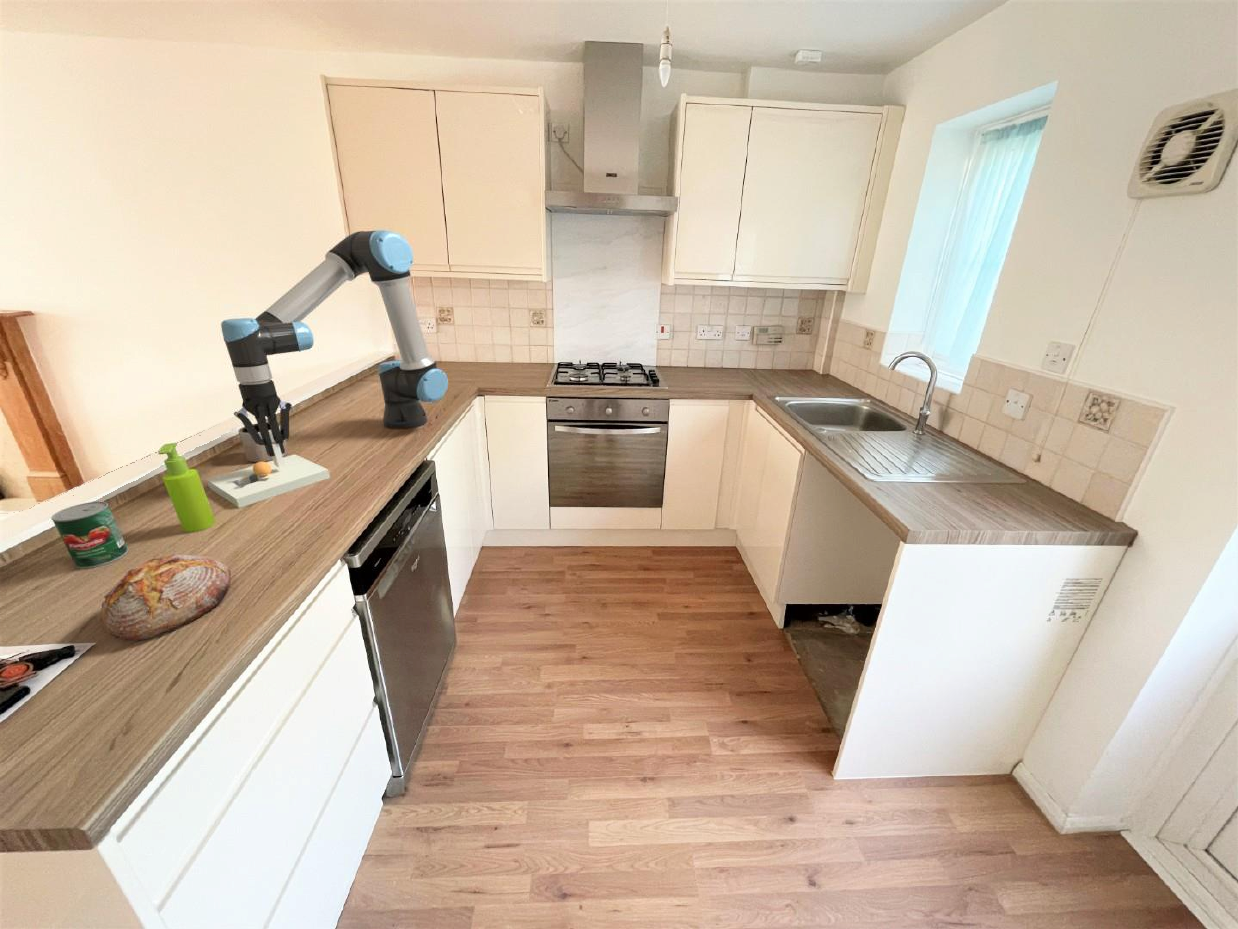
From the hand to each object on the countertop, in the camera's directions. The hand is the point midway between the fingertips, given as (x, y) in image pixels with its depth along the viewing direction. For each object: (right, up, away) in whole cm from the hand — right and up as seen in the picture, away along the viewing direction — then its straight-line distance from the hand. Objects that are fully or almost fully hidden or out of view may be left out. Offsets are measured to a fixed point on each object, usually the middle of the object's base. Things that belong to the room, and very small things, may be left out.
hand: (279, 465), depth 135 cm
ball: (-2, -1, -3) cm, 4 cm away
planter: (-15, +3, +17) cm, 23 cm away
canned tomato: (-13, -19, -34) cm, 41 cm away
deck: (-2, -5, -1) cm, 5 cm away
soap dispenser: (-3, -14, -23) cm, 27 cm away
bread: (+15, -25, -48) cm, 56 cm away
